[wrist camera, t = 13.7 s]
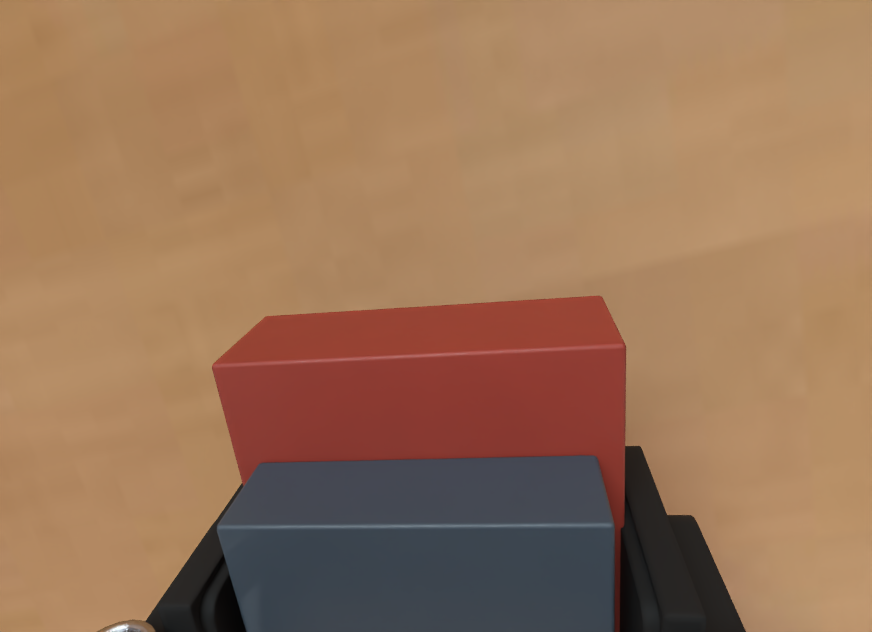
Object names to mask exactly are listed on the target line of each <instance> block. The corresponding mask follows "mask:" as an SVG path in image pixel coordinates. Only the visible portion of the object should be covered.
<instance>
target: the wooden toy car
mask: <svg viewBox="0 0 872 632" xmlns="http://www.w3.org/2000/svg"><path fill="white" fill-rule="evenodd" d="M212 369H213V373H214V377H215V381H216V384H217V388H218V392H219V396H220V399H221V403H222V407H223V411H224V415H225V418H226V422H227V426H228V430H229V434H230V437H231V441H232V445H233V449H234V452H235V456H236V460H237V464H238V468H239V471H240V475H241V479H242V483H243V488H242V489H241V491H240V492H239V494H238V495H237V497H236V498H235V500H234V501H233V503H232V504H231V506H230V507H229V509H228V510H227V512H226V513H225V514H224V516H223V517H222V519H221V520H220V522H219V523H218V525H217V533H218V536H219V540H220V543H221V547H222V550H223V554H224V557H225V560H226V564H227V567H228V571H229V574H230V577H231V581H232V584H233V588H234V591H235V594H236V598H237V601H238V605H239V608H240V612H241V615H242V618H243V622H244V625H245V629H246V632H620V555H621V528H623V527H624V514H625V406H626V346H625V343H624V341H623V339H622V337H621V335H620V333H619V331H618V329H617V327H616V325H615V323H614V321H613V319H612V317H611V314H610V312H609V310H608V308H607V306H606V304H605V302H604V300H603V298H602V297H601V296H588V297H572V298H555V299H539V300H523V301H507V302H491V303H474V304H458V305H442V306H426V307H410V308H394V309H377V310H361V311H345V312H329V313H313V314H297V315H280V316H267V317H265V318H263V319H262V320H261V321H260V322H259V323H258V324H257V325H256V326H255V327H253V328H252V329H251V330H250V331H249V332H248V333H247V334H246V335H245V336H243V337H242V338H241V339H240V340H239V341H238V342H237V343H236V344H235V345H233V346H232V347H231V348H230V349H229V350H228V351H227V352H226V353H225V354H224V355H222V356H221V357H220V358H219V359H218V360H217V361H216V362H215V363H214V364H213V366H212Z"/></svg>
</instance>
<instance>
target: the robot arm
mask: <svg viewBox="0 0 872 632" xmlns="http://www.w3.org/2000/svg"><path fill="white" fill-rule="evenodd" d="M242 488H243V483H242V484H241V485H240V487H239V488H238V490H237V491H236V493H235V494H234V496H233V497H232V499H231V500H230V501H229V503H228V504H227V506H226V507H225V509H224V510H223V512H222V513H221V514H220V516H219V517H218V519H217V520H216V521H215V523H214V524H213V525H212V526H211V528H210V529H209V530H208V532H207V533H206V535H205V536H204V538H203V539H202V541H201V542H200V543H199V545H198V546H197V548H196V549H195V551H194V552H193V554H192V555H191V556H190V558H189V559H188V561H187V562H186V564H185V565H184V567H183V568H182V569H181V571H180V572H179V574H178V575H177V577H176V578H175V579H174V581H173V582H172V584H171V585H170V587H169V588H168V590H167V591H166V592H165V594H164V595H163V597H162V598H161V600H160V601H159V603H158V604H157V605H156V607H155V608H154V610H153V611H152V613H151V614H150V616H149V617H148V618H147V620H146V621H140V620H128V621H122V622H118V623H115V624H112V625H110V626H107V627H105V628H103V629H101V630H99V631H98V632H246V629H245V625H244V622H243V618H242V615H241V612H240V608H239V605H238V601H237V598H236V594H235V591H234V588H233V584H232V581H231V577H230V574H229V571H228V567H227V564H226V560H225V557H224V554H223V550H222V547H221V543H220V540H219V536H218V533H217V525H218V523H219V522H220V520H221V519H222V517H223V516H224V514H225V513H226V512H227V510H228V509H229V507H230V506H231V504H232V503H233V501H234V500H235V498H236V497H237V495H238V494H239V492H240V491H241V489H242ZM620 632H746V631H745V629H744V627H743V624H742V622H741V620H740V618H739V615H738V613H737V611H736V609H735V607H734V604H733V602H732V600H731V598H730V595H729V593H728V591H727V589H726V586H725V584H724V582H723V580H722V577H721V575H720V573H719V571H718V569H717V566H716V564H715V562H714V560H713V557H712V555H711V553H710V551H709V548H708V546H707V544H706V542H705V539H704V537H703V535H702V533H701V531H700V528H699V526H698V524H697V522H696V520H695V519H694V517H692V516H691V515H667V514H666V511H665V509H664V506H663V503H662V501H661V498H660V496H659V493H658V490H657V488H656V485H655V483H654V480H653V477H652V475H651V472H650V469H649V467H648V464H647V462H646V459H645V456H644V454H643V451H642V449H641V447H640V446H625V514H624V527H623V528H621V555H620Z"/></svg>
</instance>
